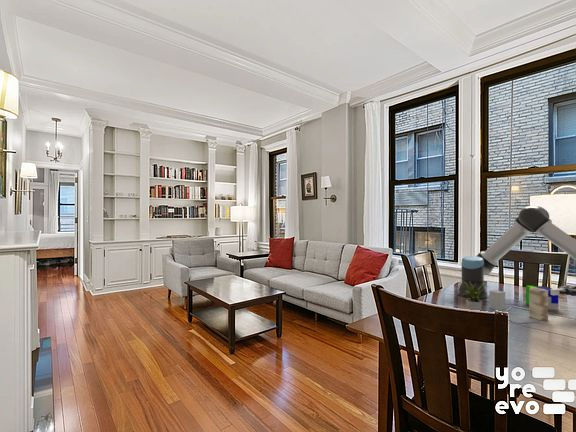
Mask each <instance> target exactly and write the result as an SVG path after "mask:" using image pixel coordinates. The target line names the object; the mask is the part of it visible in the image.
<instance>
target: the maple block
mask: <svg viewBox="0 0 576 432" xmlns="http://www.w3.org/2000/svg"><path fill="white" fill-rule="evenodd" d="M528 317H529V318H531V319H534V320H537V321H547V320H549V309H548V290H545V289H541V288H529V305H528Z"/></svg>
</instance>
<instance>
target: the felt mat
mask: <svg viewBox="0 0 576 432" xmlns="http://www.w3.org/2000/svg"><path fill="white" fill-rule="evenodd" d="M508 316H509V320H508V321H510V322H513V323H514V324H517V325H518V324H519V325H520V324H532V323H533V324H534V323H540V321H541V320H537V319H534V318H531V317H529V316H525V315H522V314H521V315H520V314H517V315H508Z"/></svg>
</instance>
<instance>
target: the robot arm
mask: <svg viewBox="0 0 576 432" xmlns="http://www.w3.org/2000/svg"><path fill="white" fill-rule="evenodd" d="M534 233H535V234H540V235H541V236H543V237H544V238H545V239H547V240H548V242H550V243H551V244H552V245H555V246H556V247H558V248H559V249H560V250H561V251H563V252H564V253H566V254H567V255H568V256H570V257H571V258H572V259H573V260H575V261H576V239H575V238H574V237H572V235H569V234H568V233H566V231H564V230H562V229H561V228H559V227H558V226H557V225H556V224H554V223H552V219H550V213H549V211H547V210H546V209H545V208H544V207H542V206H540V205H539V206H537V205H534V206H533V205H531V206H530V205H529V206H526V207H523V208H522V209H520V211H519V212H518V216H517V217H516V218H515V219H514V224H513V225H512V226H510V227H509V228H508V229H507V230H506V232H504V233H503V234H502V235H501V236H500V237H499V238H498V239H497V240H496V241H495V242H494V243H492V244H491V245H490V246H489V247H487V249H486V250H485V251H484V250H483V251H480V252H479V253H478V254H477V255H476V256H474V255H473V256H472V255H470V256H464V257H462V259H461V284H459V289H458V295H459V296H462V297H464V298H468V297H469V298H470V296H469V295H468V293H467V292H465V291H469V290H468V289H467V288H468V287H470V282H471V284H472V285H473V286H474V285H475V284H476V283H477V284H476V285H475V289H474V291H476V289H478V288H480V286H481V285H482V286H481V288H480V290H479V291H481V290H482V289H483V288H484V289H483V290H482V291H481V292H480V293H479V294H486V295H481V296H480V297H479V298H478V299H480V300H481V299H486V298H488V292H487V290H486V288H485V287H486V286H485V283H484V282H485V279H484V277H485V276H486V275H489V274H490V273H491V272H492V271H493V270H494V268H495V267H497V266H498V265H499V264H498V263H499V260H500V259H502V257H504V256H505V255H506V254H507V253H508V252H510V251H511V250H512V249H513V248H514V247H515V246H516V245H517V244H519V243H520V242H522V240H523V239H524V238H525V237H526V236H528V235H529V234H534ZM463 281H464V282H463ZM476 281H477V282H476ZM465 282H466V283H467V285H468V287H467V285H466V284H465ZM463 284H464V285H465V286H466V287H467V288H466V287H465V286H464V285H463ZM461 285H462V286H461ZM463 286H464V287H465V288H466V289H465V288H464V287H463ZM470 288H471V287H470ZM550 290H551V295H559V296H563V295H564V296H565V295H566V296H572V297H576V285H574V286H573V285H567V284H565V285H563V286H558V287H557V288H552V289H550ZM459 291H460V292H459ZM463 293H466V295H467V296H468V297H467V296H466V295H465V294H464V295H462V294H463ZM470 294H471V293H470ZM483 296H484V297H483ZM481 297H482V298H481Z"/></svg>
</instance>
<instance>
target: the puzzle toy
mask: <svg viewBox="0 0 576 432" xmlns="http://www.w3.org/2000/svg"><path fill="white" fill-rule="evenodd" d="M529 288H541V289H545V290H548V310H554V311H555V310H556V311H558V310H559V296H560V295H551V290H550V289H553V288H552V287H549V286H547V285H546V286H543V285H526V286H525V304H526V305H528V306H529Z"/></svg>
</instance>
